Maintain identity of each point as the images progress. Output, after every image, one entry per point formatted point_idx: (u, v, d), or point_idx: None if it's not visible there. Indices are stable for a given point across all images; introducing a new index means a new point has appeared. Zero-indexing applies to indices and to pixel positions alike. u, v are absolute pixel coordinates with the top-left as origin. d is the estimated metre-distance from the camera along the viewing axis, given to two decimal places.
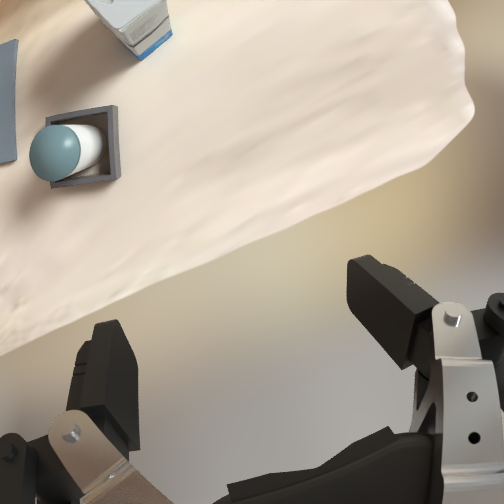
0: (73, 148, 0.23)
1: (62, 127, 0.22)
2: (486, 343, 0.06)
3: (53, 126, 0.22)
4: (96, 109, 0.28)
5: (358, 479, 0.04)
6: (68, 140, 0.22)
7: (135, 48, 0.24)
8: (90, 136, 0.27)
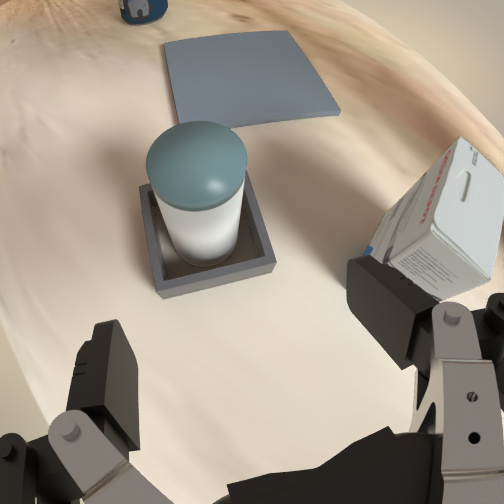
0: (207, 193, 0.14)
1: (243, 168, 0.15)
2: (486, 343, 0.06)
3: (243, 152, 0.15)
4: (265, 238, 0.22)
5: (358, 479, 0.04)
6: (221, 182, 0.15)
7: None
8: (224, 233, 0.19)
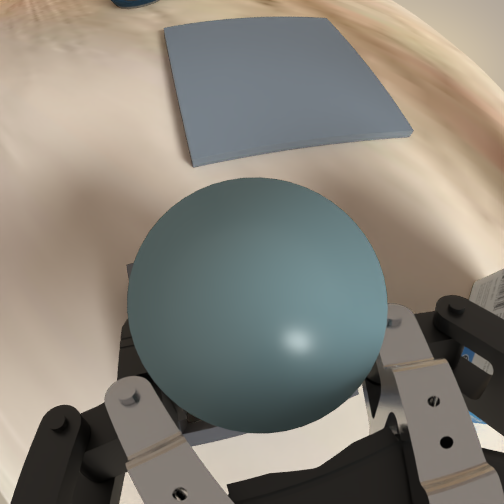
0: (303, 406, 0.05)
1: (382, 322, 0.06)
2: (432, 348, 0.07)
3: (378, 276, 0.06)
4: None
5: (358, 479, 0.04)
6: (336, 371, 0.05)
7: None
8: None
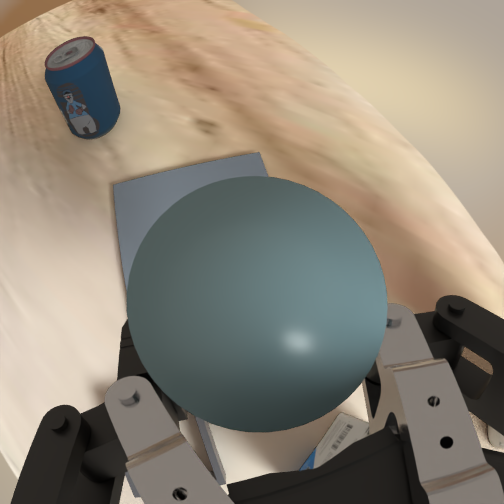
0: (303, 405, 0.05)
1: (382, 321, 0.06)
2: (432, 348, 0.07)
3: (378, 275, 0.06)
4: (216, 466, 0.21)
5: (358, 479, 0.04)
6: (336, 369, 0.05)
7: None
8: None
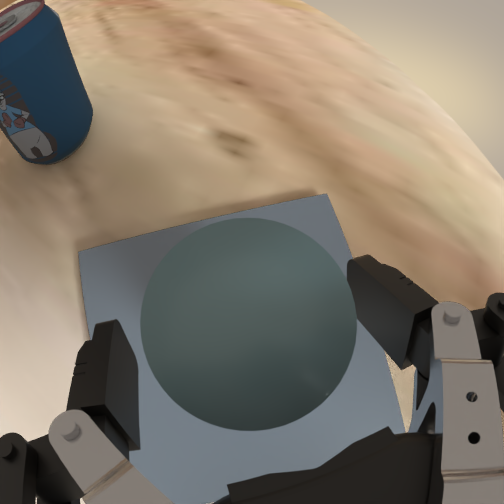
0: (283, 410, 0.06)
1: (351, 341, 0.07)
2: (486, 343, 0.06)
3: (349, 302, 0.07)
4: None
5: (358, 479, 0.04)
6: (310, 381, 0.07)
7: None
8: None
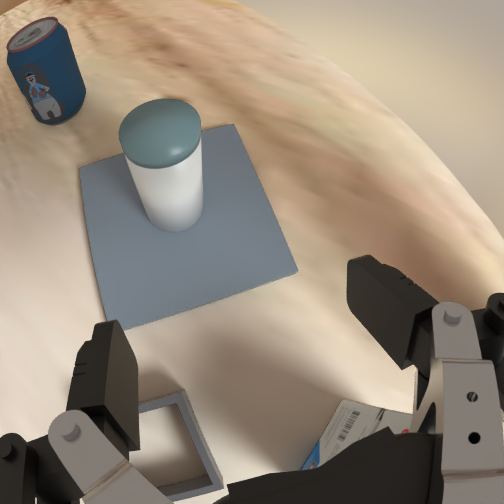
0: (169, 150, 0.17)
1: (198, 129, 0.17)
2: (486, 343, 0.06)
3: (197, 118, 0.18)
4: (211, 469, 0.19)
5: (358, 479, 0.04)
6: (181, 141, 0.17)
7: None
8: (189, 192, 0.21)
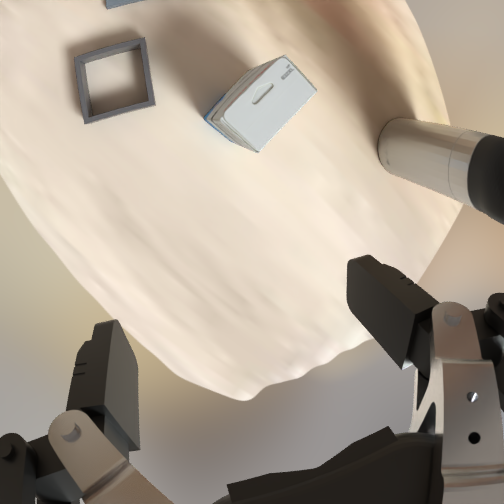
0: None
1: None
2: (486, 343, 0.06)
3: None
4: (150, 89, 0.30)
5: (358, 479, 0.04)
6: None
7: (211, 121, 0.30)
8: None
